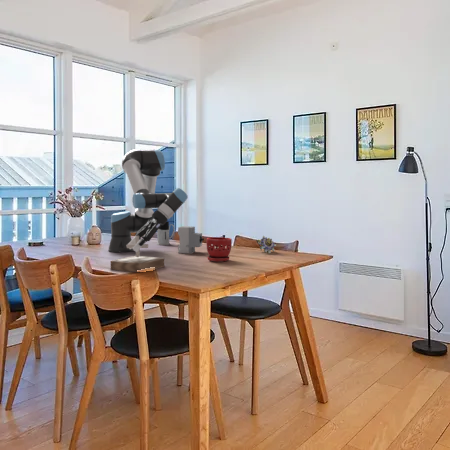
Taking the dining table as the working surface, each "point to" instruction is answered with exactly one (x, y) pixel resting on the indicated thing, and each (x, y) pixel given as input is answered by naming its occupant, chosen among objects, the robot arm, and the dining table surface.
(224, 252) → the plant pot
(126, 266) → the stand
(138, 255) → the pipe connector
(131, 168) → the robot arm
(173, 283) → the dining table surface
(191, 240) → the circuit breaker
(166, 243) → the grey travel mug
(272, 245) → the passion flower
